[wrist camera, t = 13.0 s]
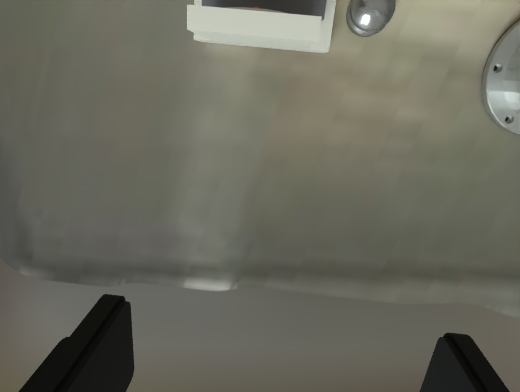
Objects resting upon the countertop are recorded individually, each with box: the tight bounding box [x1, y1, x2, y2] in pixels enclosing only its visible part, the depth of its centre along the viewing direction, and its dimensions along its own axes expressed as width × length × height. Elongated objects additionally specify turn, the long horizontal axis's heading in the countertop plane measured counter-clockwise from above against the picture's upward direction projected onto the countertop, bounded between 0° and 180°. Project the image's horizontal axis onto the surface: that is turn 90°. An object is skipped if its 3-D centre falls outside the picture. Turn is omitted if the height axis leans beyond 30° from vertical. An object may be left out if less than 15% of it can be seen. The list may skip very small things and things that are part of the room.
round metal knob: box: [346, 0, 395, 37], centre depth 33 cm, size 4×4×2 cm
